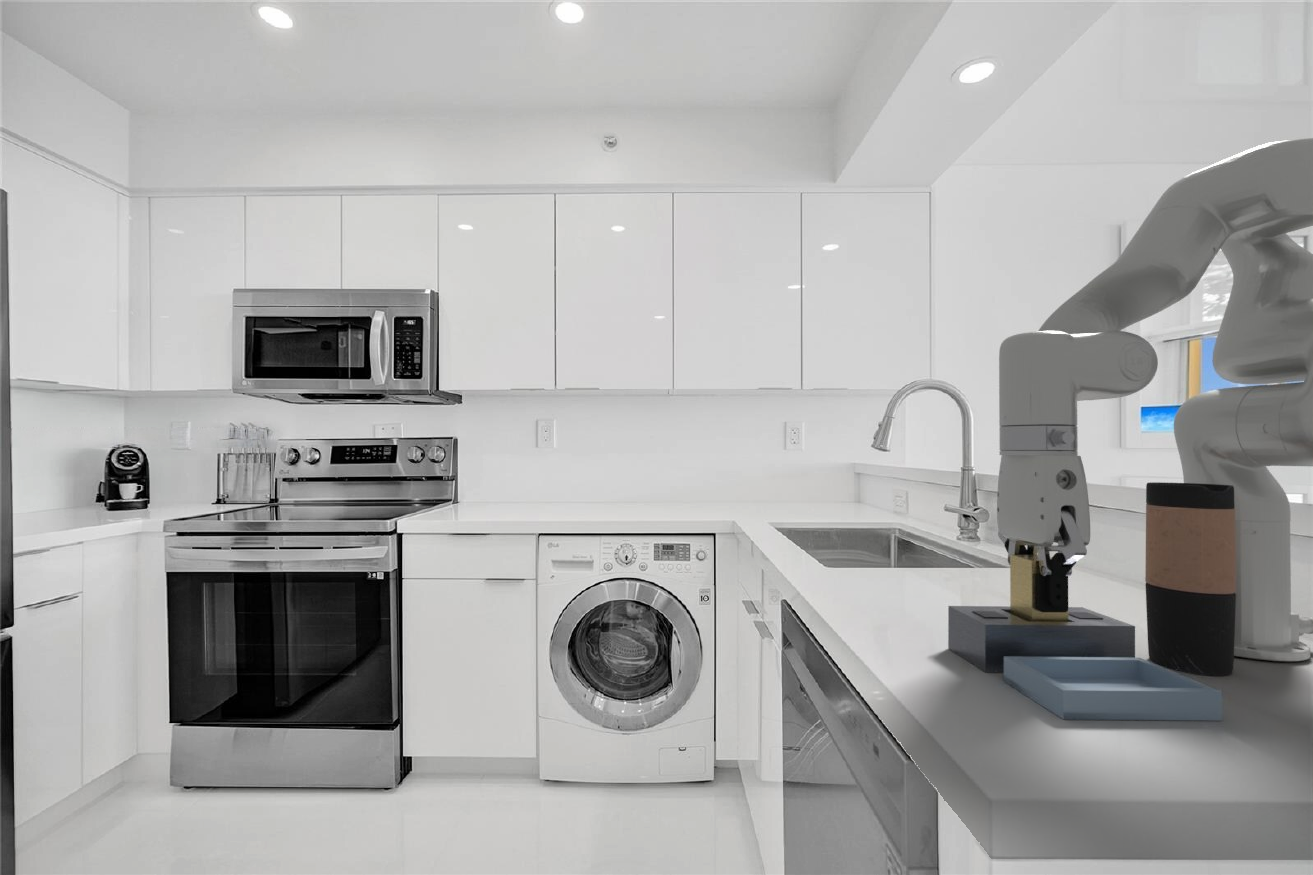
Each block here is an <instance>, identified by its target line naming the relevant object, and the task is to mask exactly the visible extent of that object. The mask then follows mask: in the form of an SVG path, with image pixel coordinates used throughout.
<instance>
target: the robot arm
mask: <svg viewBox="0 0 1313 875" xmlns="http://www.w3.org/2000/svg"><path fill="white" fill-rule="evenodd" d="M1312 226H1313V137H1311V138H1296V139H1287V140H1281V141H1280V140H1279V141H1274V142H1267V143H1265V144H1262V145H1258V146H1256V147H1253V148H1250V149H1247V150H1245V151H1243V152H1240V153H1238V154H1235V155H1233V156H1231V157H1228V158H1225V159H1223V160H1220V161H1218V162H1215V163H1214V164H1211V165H1208V166H1207V167H1204V168H1201V169H1198V170H1197V171H1193V172H1192V173H1189V174H1187V175H1185V176H1183V177H1181V178H1180V179H1178V180H1177V181H1175V182H1173V183H1172V184H1171V185H1170V186H1168V188H1167V189H1166V190H1165V191H1164V192H1163V193H1162V195H1161V196H1160V197H1159V199H1158V200H1157V202H1156V203H1155V204H1154V206H1153V208H1152V209H1151V211H1150V212H1149V213H1148V214H1147V216H1146V217H1145V219H1144V221H1143V222H1142V223H1141V225H1140V227H1139V228H1138V230H1137V231H1136V232H1135V234H1134V235H1133V237H1132V238H1131V239H1130V240H1129V242H1128V244H1127V245H1126V247H1125V248H1124V249H1123V251H1122V253H1121V254H1120V255H1119V257H1118V259H1116V261H1114V263H1112V264H1111V265H1110V266H1109V267H1107V268H1106V269H1104V270H1103V271H1102V272H1101V273H1100V272H1099V274H1098V275H1097V276H1095V277H1094V278H1093V279H1092V280H1090V281H1089V282H1088V283H1087V284H1086V285H1084V286H1083V287H1082V288H1080V290H1078V291H1077V292H1076V293H1074V294H1073V295H1072V296H1071V297H1069V298H1068V299H1066V300H1065V302H1063V303H1062V304H1061V305H1060V306H1058V308H1056V309H1055V310H1054V311H1053V312H1052V313H1051V315H1049V317H1048V318H1046V320H1045V321H1044V323H1042V325H1041V327H1040V328H1039V329H1038V330H1037V331H1028V332H1022V333H1016V334H1013V335H1011V336H1008V337H1006V338H1005V339H1004V340H1003V341H1002V342H1001V344H1000V346H999V352H998V353H999V354H998V355H999V356H998V373H999V374H998V377H999V378H998V380H999V381H998V384H999V385H998V387H999V388H998V390H999V391H998V392H999V393H998V394H999V398H998V401H999V402H998V404H999V406H998V409H999V410H998V412H999V413H998V414H999V415H998V416H999V419H998V422H999V429H998V430H999V456H1001V458H1000V464H999V471H998V480H997V498H996V520H997V522H996V523H997V530H998V531H997V536H998V538H999V539H1000V541H1001V542H1002V544H1004V548H1005V551H1006V552H1007V563H1008V565H1009V566H1010V555H1038V558H1039V566H1040V572H1041V574H1036V609H1037V610H1038V611H1040V612H1067V611H1068V607H1069V577H1070V576H1072V575H1073V567H1074V566H1075V565H1076V564H1077V562H1078V561H1080V560H1081V559H1083V558H1084V557H1085V556H1086V555H1087V553H1088V552H1087V548H1086V547H1087V546H1088V545H1089V544H1090V542H1091V515H1090V503H1089V492H1088V485H1087V484H1088V482H1087V476H1086V472H1085V468H1084V464H1083V461H1082V457H1081V455H1079V451H1078V447H1079V446H1078V445H1079V444H1078V402H1079V401H1094V400H1095V401H1097V400H1098V401H1099V400H1110V399H1111V400H1112V399H1118V398H1122V397H1128V396H1131V395H1133V394H1137V393H1138V392H1139V391H1141V390H1144V388H1145V387H1147V386H1148V385H1149V384H1150V383H1151V382H1152V381H1153V379H1154V377H1155V376H1156V374H1157V370H1158V363H1159V361H1158V355H1157V352H1156V350H1155V348H1154V347H1153V346H1152V344H1151V343H1150V342H1149V341H1148V340H1146V339H1145V338H1144V337H1142V336H1140V335H1138V334H1136V333H1132V332H1129V331H1122V330H1123V329H1126V328H1128V327H1129V326H1133V325H1134V324H1136V323H1138V322H1141V321H1143V320H1145V319H1148V318H1149V317H1150V318H1151V317H1152V316H1154V315H1156V314H1158V313H1160V312H1162V311H1164V310H1165V309H1168V308H1169V307H1171V306H1172V305H1174V304H1176V303H1178V302H1180V301H1181V300H1183V299H1184V298H1186V297H1188V296H1189V295H1190V294H1191V293H1192V291H1193V290H1194V289H1195V288H1196V287H1197V285H1198V283H1199V282H1200V280H1201V279H1202V278H1203V276H1204V274H1206V273H1205V272H1207V270H1208V268H1209V266H1210V264H1211V263H1212V261H1214V259H1215V257H1216V255H1217V254H1218V253H1219V251H1221V253H1223V255H1224V257H1225V259H1226V260H1227V262H1228V264H1229V267H1230V268H1231V272H1232V277H1233V278H1232V280H1233V281H1232V287H1231V291H1230V295H1229V297H1228V298H1229V299H1228V301H1227V305H1226V308H1225V310H1224V313H1223V316H1222V320H1221V323H1220V327H1219V330H1218V332H1217V336H1216V338H1215V339H1216V340H1215V342H1214V346H1213V350H1212V360H1211V361H1212V366H1213V370H1214V371H1215V373H1216V374H1217V375H1218V376H1219V377H1220V378H1221V379H1223V380H1225V381H1228V382H1230V383H1235V384H1239V385H1247V386H1235V387H1234V386H1233V387H1226V388H1225V387H1224V388H1218V389H1217V388H1216V389H1212V390H1208V391H1204V392H1201V393H1198V394H1196V395H1193V396H1191V397H1190V398H1188V399H1187V400H1185V401H1184V402H1183V403H1182V404H1181V405H1180V407H1179V408H1178V410H1177V411H1176V413H1175V415H1174V418H1173V419H1174V420H1173V435H1174V439H1175V444H1176V446H1177V451H1178V455H1179V458H1180V459H1179V460H1180V463H1181V470H1182V475H1183V477H1182V478H1183V483H1197V484H1219V485H1232V486H1234V506H1235V508H1234V509H1235V558H1236V611H1235V639H1234V657H1240V658H1245V659H1253V660H1261V661H1271V662H1289V663H1290V662H1303V661H1306V660H1309V659H1310V658H1311V656H1312V655H1311V654H1312V652H1311V648H1310V646H1308V645H1307V644H1305V643H1304V642H1302V641H1300V637H1301V636H1303V635H1304V634H1308V635H1313V617H1311V616H1310V617H1308V616H1307V617H1300V614H1299V613H1294V612H1292V599H1291V598H1292V594H1291V593H1292V590H1291V589H1292V588H1291V587H1292V586H1291V585H1292V581H1291V576H1292V574H1291V573H1292V571H1291V568H1292V567H1291V506H1290V501H1289V499H1288V496H1287V493H1286V492H1285V489H1283V487H1282V486H1281V484H1280V483H1279V481H1278V480H1277V479H1276V478H1275V476H1274V475H1273V474H1272V473H1271V472H1270V470H1269V469H1268V467H1272V466H1273V467H1277V466H1278V467H1313V253H1312V252H1310V251H1309V250H1307V249H1306V248H1305V247H1303V246H1301V245H1300V244H1298V243H1297V242H1296V241H1294V240H1293V238H1291V237H1290V235H1288V233H1291V232H1295V231H1300V230H1303V229H1306V228H1309V227H1312ZM1248 385H1249V386H1248ZM1054 543H1056V544H1057V545H1054ZM1051 552H1055V553H1054V554H1053V556H1051ZM1050 556H1051V557H1052V558H1051V560H1050Z"/></svg>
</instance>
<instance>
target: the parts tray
mask: <svg viewBox="0 0 1313 875" xmlns="http://www.w3.org/2000/svg"><path fill="white" fill-rule="evenodd" d="M1003 682H1004V683H1006V684H1007V685H1009V686H1011V687H1012V688H1014V690H1016V691H1018V692H1020V693H1021V694H1023V695H1025V696H1026V697H1027V698H1029V699H1031V700H1032V701H1033V702H1036V704H1039V705H1041V706H1042V707H1044V708H1045V709H1046V710H1048V711H1049V712H1051V713H1053V714H1054V715H1056V716H1057V717H1059V718H1060V719H1062V720H1078V721H1079V720H1085V721H1086V720H1087V721H1088V720H1090V721H1091V720H1096V721H1097V720H1101V721H1102V720H1105V721H1107V720H1112V721H1118V720H1119V721H1209V722H1210V721H1217V722H1218V721H1223V691H1221V690H1218V689H1216V688H1214V687H1211V686H1209V685H1206V684H1204V683H1202V682H1200V681H1198V680H1195V679H1192V678H1190V677H1189V676H1188V677H1187V676H1185V675H1182V674H1181V673H1178V672H1175V671H1174V670H1172V669H1170V668H1167V667H1164V666H1161V665H1159V664H1156V663H1154V662H1153V661H1149V660H1146V659H1145V658H1141V657H1135V658H1128V657H1022V656H1004V673H1003Z"/></svg>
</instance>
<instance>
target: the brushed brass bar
mask: <svg viewBox="0 0 1313 875" xmlns="http://www.w3.org/2000/svg"><path fill="white" fill-rule="evenodd" d="M1052 557H1053V556H1051V555H1050V560H1051V558H1052ZM1009 569H1010V571H1009V573H1010V576H1009V577H1010V584H1009V585H1010V590H1009V591H1010V592H1009V593H1010V604H1009V607H1010V614H1012V615H1014V616H1017V617H1019V618H1021V619H1023V620H1026V621H1028V622H1068V611H1067V612H1040V611H1038V610H1037V609H1036V574H1041V572H1040V566H1039V558H1038V554H1037V555H1010V565H1009Z"/></svg>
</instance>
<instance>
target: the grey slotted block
mask: <svg viewBox="0 0 1313 875" xmlns="http://www.w3.org/2000/svg"><path fill="white" fill-rule="evenodd" d="M947 612H948V613H947V614H948V629H947V631H948V636H947V637H948V640H947V641H948V642H947V644H948V645H947V647H948V649H949V650H950V651H952V652H953V653H955V654H956V655H957V656H959V657H961V658H963V659H964V660H965V661H967V662H969V663H970V664H971V665H973V666H975V667H977V668H978V669H980V670H981V671H983V672H984V673H996V674H997V673H1000V674H1001V673H1003V674H1004V656H1022V657H1128V658H1136V626H1135V625H1133V624H1130V623H1128V622H1124V621H1122V620H1119V619H1116V618H1113V617H1111V616H1107V615H1104V614H1101V613H1100V612H1096V611H1093V610H1091V609H1088V608H1086V607H1082V606H1081V607H1080V606H1077V607H1076V606H1075V607H1074V606H1068V622H1028V621H1026V620H1023V619H1021V618H1019V617H1017V616H1014V615H1012V614H1010V605H1009V606H1006V605H1004V606H998V605H997V606H994V605H993V606H992V605H991V606H989V605H986V606H985V605H948V611H947Z"/></svg>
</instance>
